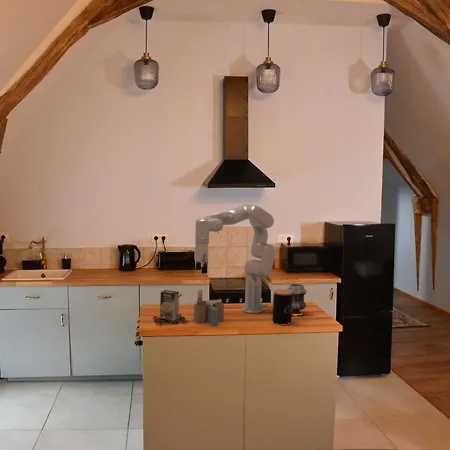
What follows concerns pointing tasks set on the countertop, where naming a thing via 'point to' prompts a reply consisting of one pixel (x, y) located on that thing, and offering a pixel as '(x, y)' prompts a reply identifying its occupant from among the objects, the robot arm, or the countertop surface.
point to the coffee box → (169, 304)
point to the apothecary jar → (297, 297)
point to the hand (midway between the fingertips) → (201, 271)
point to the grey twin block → (208, 313)
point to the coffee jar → (282, 306)
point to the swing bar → (207, 300)
